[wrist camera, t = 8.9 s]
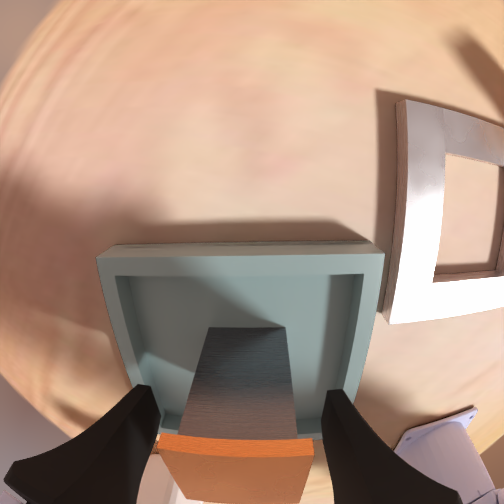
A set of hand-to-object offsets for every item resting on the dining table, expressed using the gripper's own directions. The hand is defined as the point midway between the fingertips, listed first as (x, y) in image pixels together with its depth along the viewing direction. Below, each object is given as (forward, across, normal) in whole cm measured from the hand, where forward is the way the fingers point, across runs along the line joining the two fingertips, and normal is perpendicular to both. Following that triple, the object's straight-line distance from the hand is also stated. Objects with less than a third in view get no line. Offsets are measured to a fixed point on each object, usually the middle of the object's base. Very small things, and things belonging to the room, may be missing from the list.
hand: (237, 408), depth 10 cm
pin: (+3, 0, 0) cm, 3 cm away
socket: (+4, -12, -7) cm, 14 cm away
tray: (+4, 0, 0) cm, 4 cm away
